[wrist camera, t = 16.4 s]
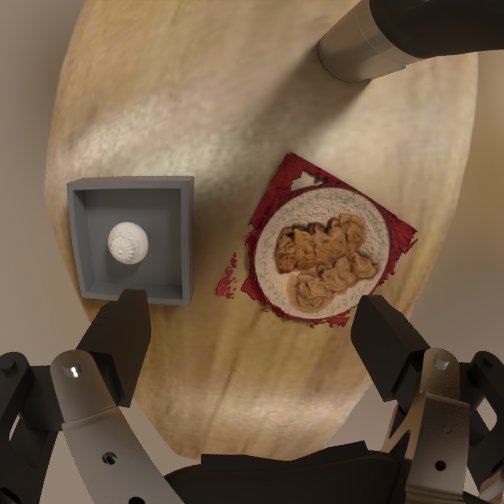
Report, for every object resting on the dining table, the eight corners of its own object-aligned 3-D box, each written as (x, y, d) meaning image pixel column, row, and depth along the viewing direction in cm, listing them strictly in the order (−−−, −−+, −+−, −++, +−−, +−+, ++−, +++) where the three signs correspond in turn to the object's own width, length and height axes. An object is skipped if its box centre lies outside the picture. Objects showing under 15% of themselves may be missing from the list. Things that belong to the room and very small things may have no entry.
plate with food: (286, 149, 39) (290, 150, 36) (413, 228, 45) (424, 235, 42) (215, 287, 47) (213, 299, 44) (342, 336, 53) (347, 347, 49)
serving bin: (193, 176, 39) (189, 180, 34) (193, 289, 46) (189, 305, 41) (82, 178, 37) (66, 183, 33) (93, 283, 44) (82, 297, 39)
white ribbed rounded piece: (127, 260, 42) (112, 280, 35) (110, 225, 40) (91, 240, 33) (161, 245, 41) (149, 265, 35) (143, 209, 39) (128, 222, 33)
